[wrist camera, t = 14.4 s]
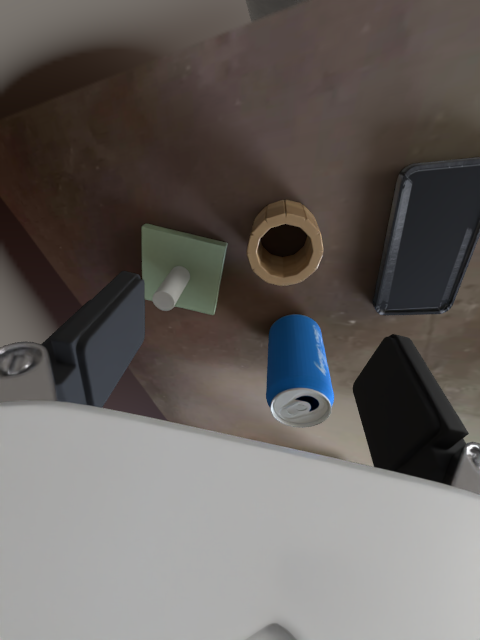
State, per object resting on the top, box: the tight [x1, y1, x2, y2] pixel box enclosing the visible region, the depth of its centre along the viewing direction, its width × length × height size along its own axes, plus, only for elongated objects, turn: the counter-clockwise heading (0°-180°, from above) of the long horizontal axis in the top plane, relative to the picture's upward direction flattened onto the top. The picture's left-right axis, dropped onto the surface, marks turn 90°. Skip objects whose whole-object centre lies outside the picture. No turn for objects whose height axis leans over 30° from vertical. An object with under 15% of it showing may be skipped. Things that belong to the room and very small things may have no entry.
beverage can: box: [266, 314, 334, 427], centre depth 31 cm, size 6×6×12 cm
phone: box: [373, 157, 480, 315], centre depth 27 cm, size 8×1×15 cm
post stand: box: [142, 224, 228, 315], centre depth 29 cm, size 9×9×7 cm
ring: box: [247, 200, 324, 286], centre depth 27 cm, size 7×7×5 cm
